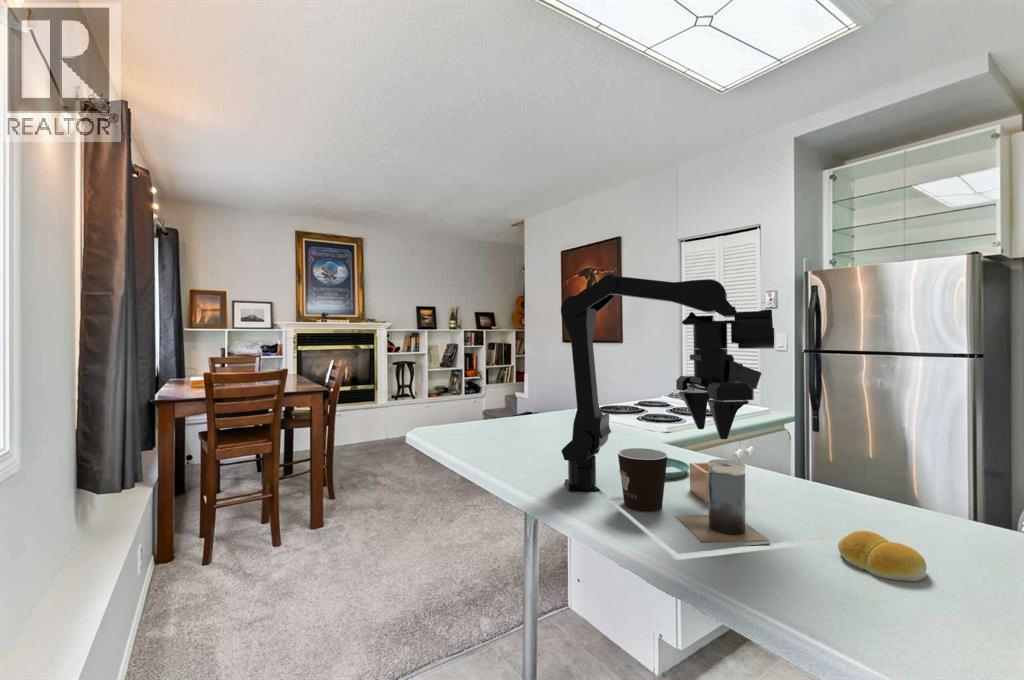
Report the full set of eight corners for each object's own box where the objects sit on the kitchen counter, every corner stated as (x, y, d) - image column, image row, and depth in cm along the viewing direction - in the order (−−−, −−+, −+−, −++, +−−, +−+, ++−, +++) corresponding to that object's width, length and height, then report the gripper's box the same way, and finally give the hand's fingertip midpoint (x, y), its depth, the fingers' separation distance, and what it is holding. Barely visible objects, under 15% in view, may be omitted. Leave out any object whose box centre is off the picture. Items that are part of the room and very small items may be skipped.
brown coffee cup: (671, 519, 77) (670, 460, 77) (619, 516, 79) (618, 458, 79) (663, 496, 89) (662, 445, 89) (617, 494, 90) (616, 443, 90)
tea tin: (705, 519, 75) (704, 458, 74) (739, 521, 74) (739, 460, 73) (713, 533, 70) (712, 468, 69) (750, 536, 69) (749, 469, 68)
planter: (690, 493, 91) (689, 462, 91) (725, 492, 91) (724, 462, 91) (705, 505, 84) (705, 472, 84) (743, 505, 84) (743, 472, 84)
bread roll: (902, 590, 55) (902, 557, 55) (828, 558, 64) (827, 529, 64) (943, 576, 58) (943, 545, 58) (867, 547, 67) (866, 520, 67)
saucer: (700, 484, 97) (700, 472, 97) (631, 485, 97) (630, 473, 97) (675, 465, 111) (675, 455, 111) (615, 466, 111) (615, 455, 111)
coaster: (675, 520, 77) (675, 515, 77) (734, 519, 77) (734, 514, 77) (701, 547, 67) (701, 541, 67) (769, 545, 67) (769, 540, 67)
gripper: (784, 349, 75) (786, 444, 75) (728, 347, 94) (730, 424, 94) (717, 350, 75) (719, 445, 75) (674, 348, 94) (675, 425, 93)
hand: (711, 433), depth 84 cm, fingers open, 9 cm apart
